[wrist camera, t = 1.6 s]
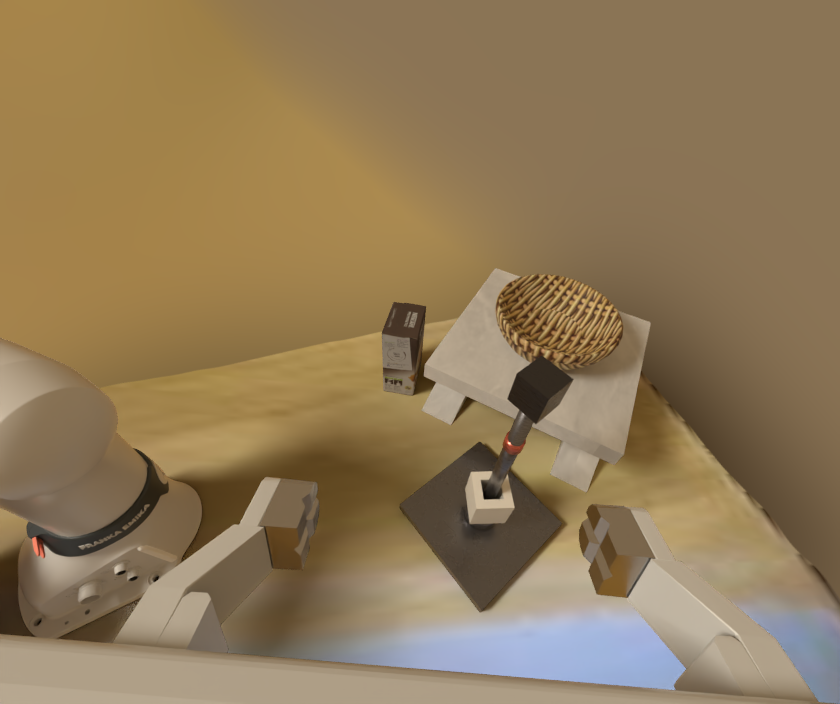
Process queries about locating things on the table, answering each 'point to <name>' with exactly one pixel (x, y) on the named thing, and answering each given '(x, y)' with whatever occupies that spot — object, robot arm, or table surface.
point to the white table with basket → (560, 344)
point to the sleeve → (487, 509)
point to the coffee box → (402, 347)
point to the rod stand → (527, 524)
